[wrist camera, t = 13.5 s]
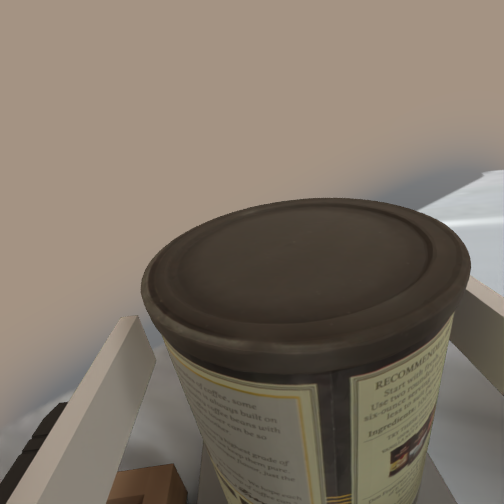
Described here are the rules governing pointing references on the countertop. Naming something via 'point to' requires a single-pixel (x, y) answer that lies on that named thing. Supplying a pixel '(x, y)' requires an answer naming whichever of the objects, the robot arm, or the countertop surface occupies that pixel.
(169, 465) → the brown wooden square frame
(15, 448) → the countertop surface
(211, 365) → the coffee can
